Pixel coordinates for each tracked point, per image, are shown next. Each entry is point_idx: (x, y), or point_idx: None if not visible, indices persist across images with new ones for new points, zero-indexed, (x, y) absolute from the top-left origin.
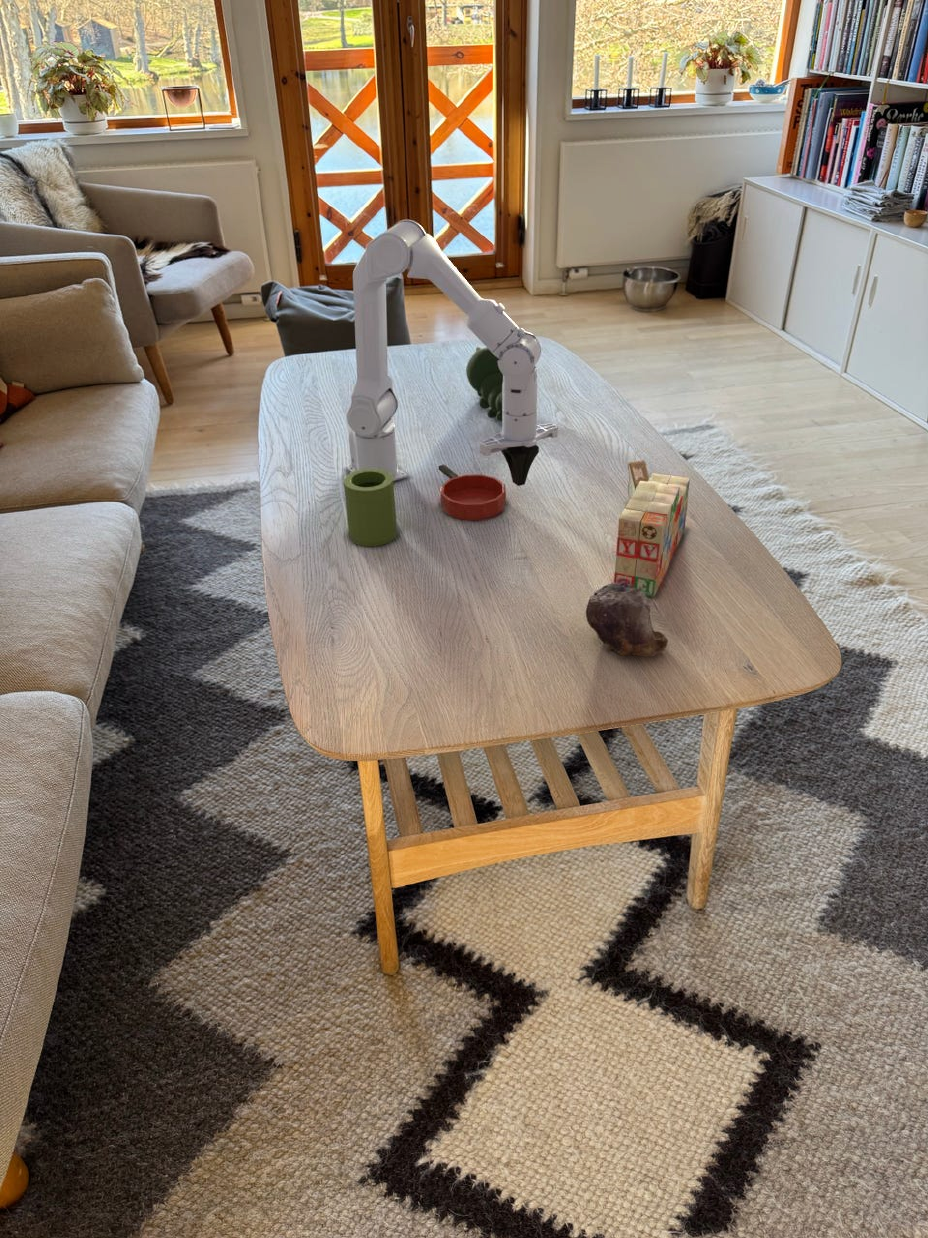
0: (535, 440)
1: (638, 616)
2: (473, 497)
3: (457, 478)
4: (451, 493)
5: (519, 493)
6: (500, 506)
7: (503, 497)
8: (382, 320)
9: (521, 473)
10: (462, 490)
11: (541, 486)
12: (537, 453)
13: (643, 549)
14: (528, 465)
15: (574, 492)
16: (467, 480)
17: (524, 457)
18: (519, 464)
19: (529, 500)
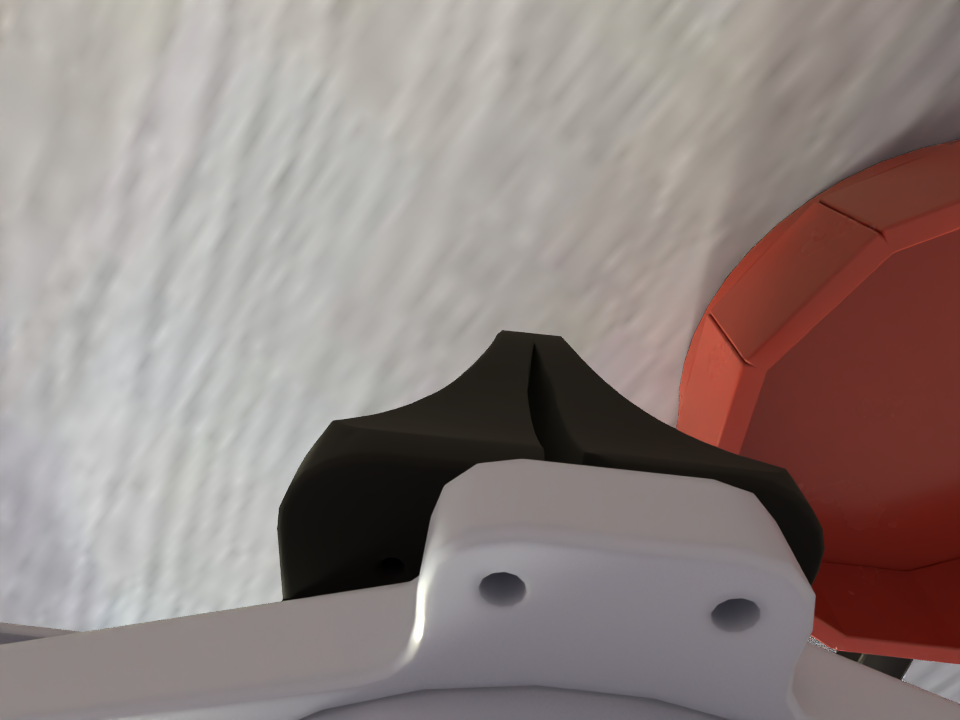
0: (449, 579)
1: None
2: (880, 441)
3: (917, 640)
4: (928, 559)
5: (542, 315)
6: (941, 160)
7: (912, 201)
8: None
9: (564, 371)
10: (845, 548)
11: (339, 299)
12: (357, 417)
13: None
14: (484, 389)
15: (152, 43)
16: (819, 597)
17: (599, 444)
18: (635, 421)
19: (559, 176)
